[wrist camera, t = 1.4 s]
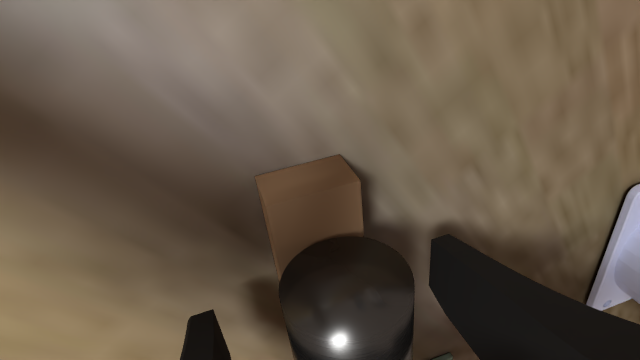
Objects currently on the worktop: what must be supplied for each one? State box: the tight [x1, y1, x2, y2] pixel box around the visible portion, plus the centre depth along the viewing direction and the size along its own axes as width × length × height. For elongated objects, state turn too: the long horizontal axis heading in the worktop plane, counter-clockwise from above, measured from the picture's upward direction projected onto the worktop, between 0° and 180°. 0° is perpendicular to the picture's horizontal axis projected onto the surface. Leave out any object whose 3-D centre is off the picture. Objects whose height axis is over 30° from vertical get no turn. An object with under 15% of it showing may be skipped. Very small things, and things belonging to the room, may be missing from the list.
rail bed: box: [255, 154, 364, 283], centre depth 14 cm, size 3×10×2 cm, turn 6°
